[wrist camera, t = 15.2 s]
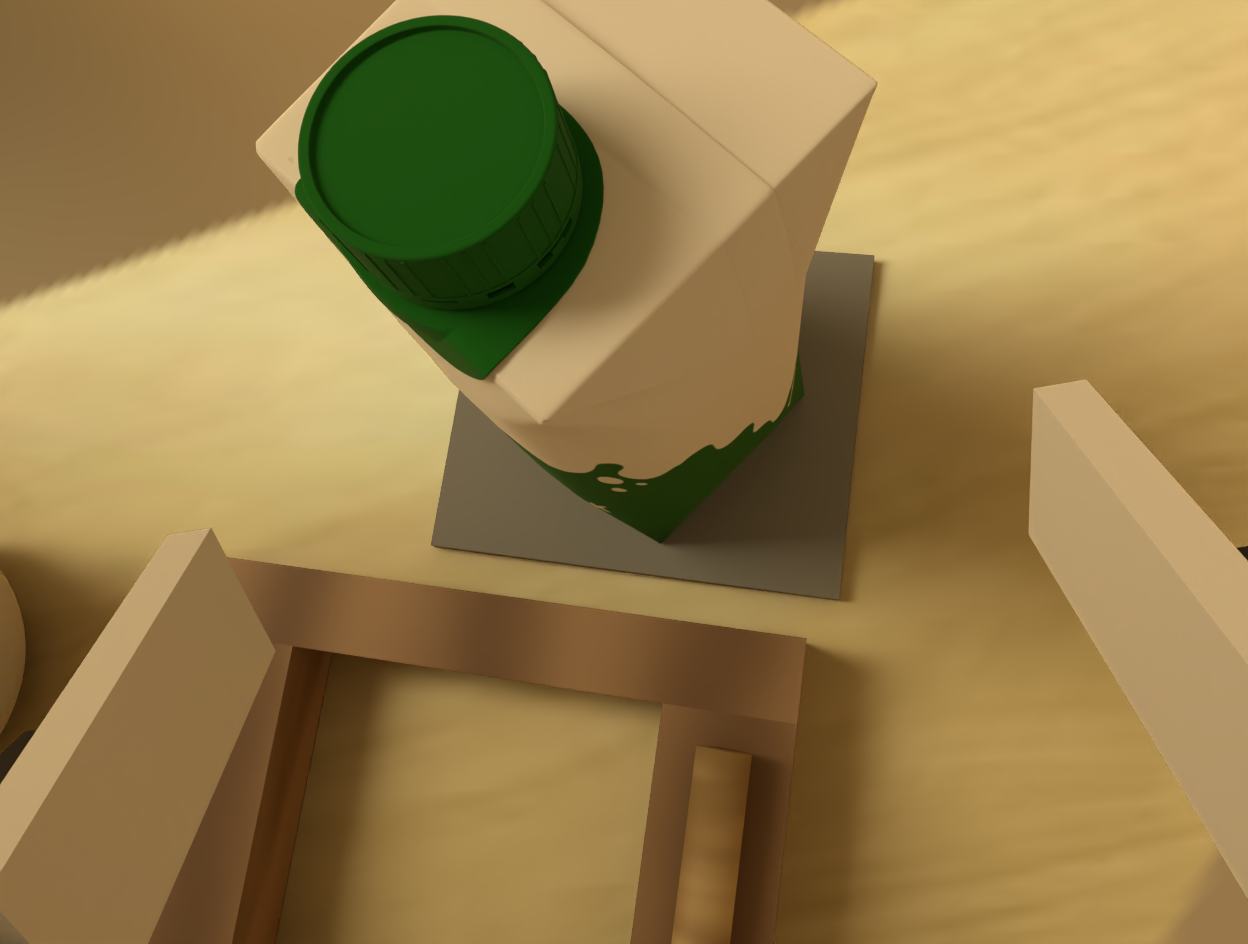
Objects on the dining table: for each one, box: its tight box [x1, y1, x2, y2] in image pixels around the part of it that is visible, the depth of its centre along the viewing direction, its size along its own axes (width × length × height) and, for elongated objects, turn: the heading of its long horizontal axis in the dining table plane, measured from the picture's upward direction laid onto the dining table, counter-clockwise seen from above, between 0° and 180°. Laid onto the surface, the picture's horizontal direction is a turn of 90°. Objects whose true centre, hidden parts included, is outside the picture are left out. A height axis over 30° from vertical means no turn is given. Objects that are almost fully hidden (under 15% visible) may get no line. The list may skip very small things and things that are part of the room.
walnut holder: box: [148, 557, 807, 944], centre depth 30 cm, size 20×17×5 cm
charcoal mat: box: [431, 251, 874, 600], centre depth 34 cm, size 14×12×1 cm
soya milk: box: [256, 0, 877, 544], centre depth 24 cm, size 9×9×20 cm
